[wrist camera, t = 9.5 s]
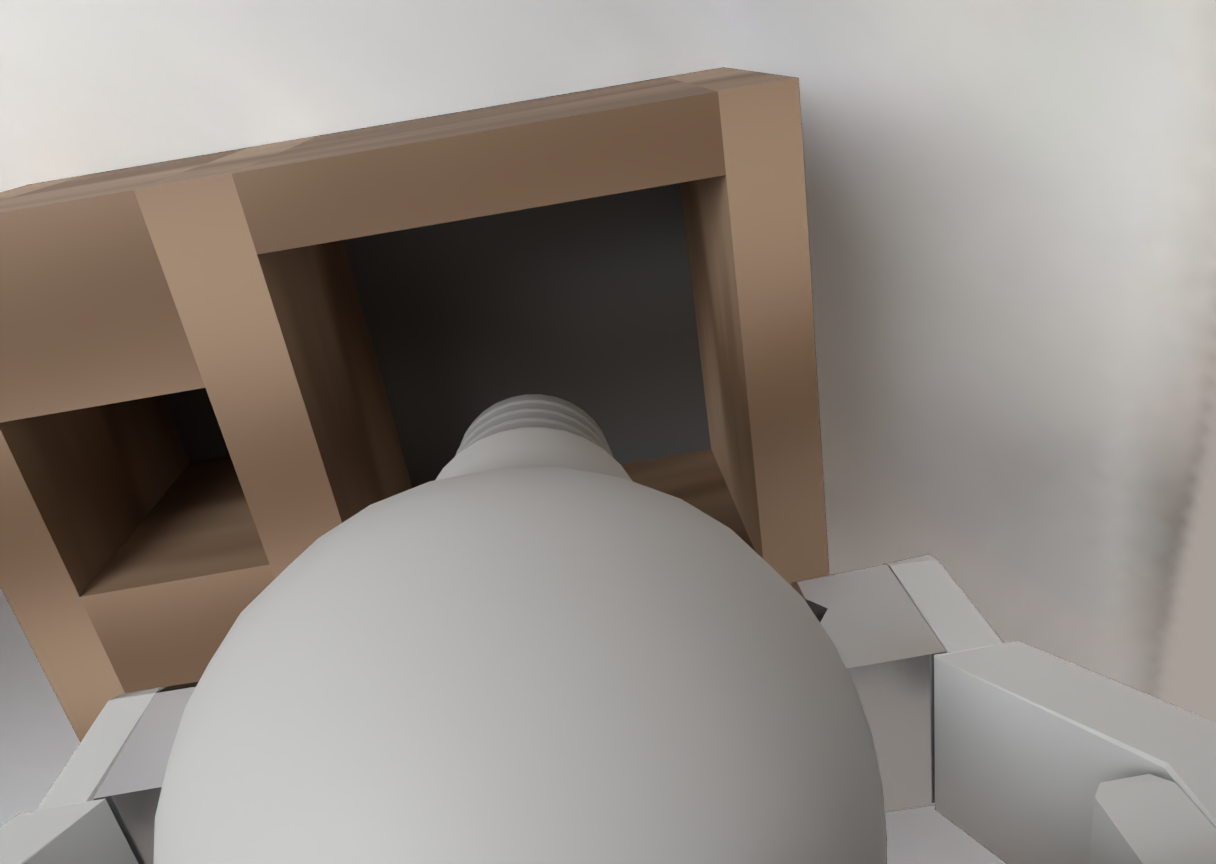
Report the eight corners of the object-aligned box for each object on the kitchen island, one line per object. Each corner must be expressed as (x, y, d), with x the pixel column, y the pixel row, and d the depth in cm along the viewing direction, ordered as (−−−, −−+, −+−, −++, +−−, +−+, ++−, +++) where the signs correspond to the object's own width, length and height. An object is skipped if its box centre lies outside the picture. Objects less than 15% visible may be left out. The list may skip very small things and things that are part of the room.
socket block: (28, 184, 19) (-177, 242, 14) (723, 67, 19) (798, 77, 14) (189, 577, 23) (81, 744, 18) (761, 479, 23) (831, 614, 18)
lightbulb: (778, 463, 16) (1205, 1196, 6) (515, 652, 17) (483, 1536, 7) (558, 187, 14) (615, 579, 4) (274, 425, 15) (-283, 1225, 5)
